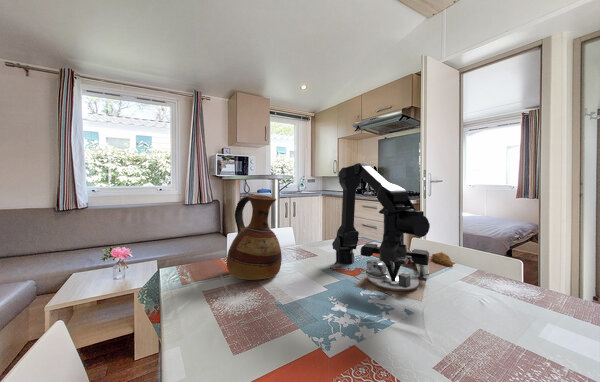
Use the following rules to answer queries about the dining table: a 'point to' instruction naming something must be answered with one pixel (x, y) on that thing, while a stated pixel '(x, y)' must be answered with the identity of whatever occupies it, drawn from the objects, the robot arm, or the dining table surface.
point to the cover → (376, 269)
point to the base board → (413, 294)
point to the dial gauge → (421, 273)
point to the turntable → (397, 282)
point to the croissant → (442, 259)
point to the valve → (419, 266)
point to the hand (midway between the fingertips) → (393, 281)
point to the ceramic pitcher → (254, 242)
